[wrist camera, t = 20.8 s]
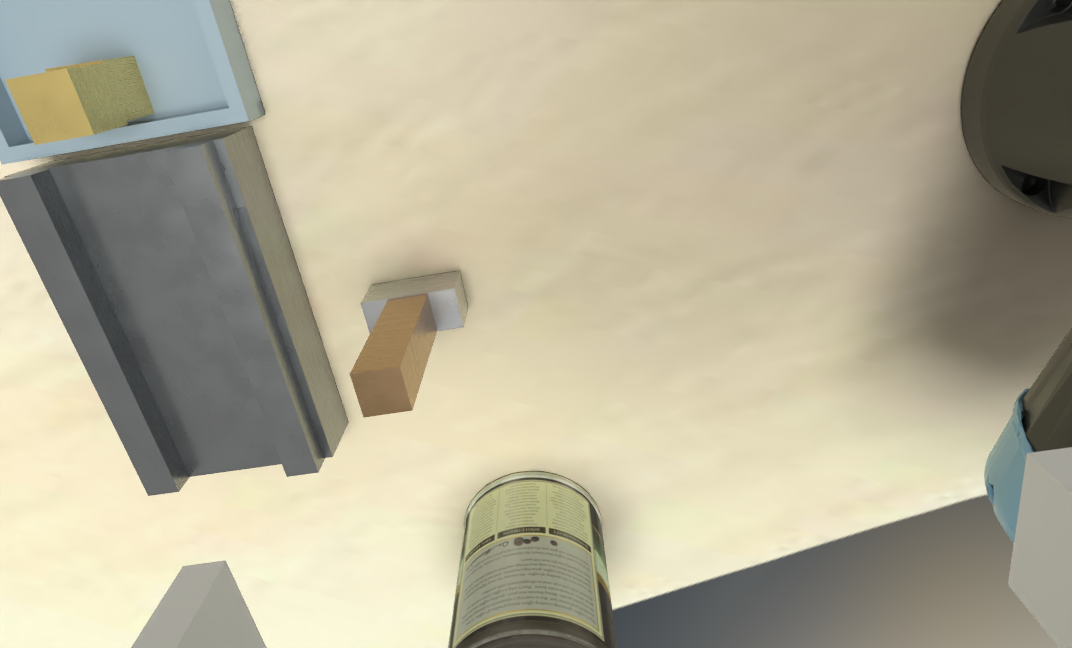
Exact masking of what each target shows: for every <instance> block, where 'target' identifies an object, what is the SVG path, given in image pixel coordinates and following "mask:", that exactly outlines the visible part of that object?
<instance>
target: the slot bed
mask: <svg viewBox="0 0 1072 648" xmlns="http://www.w3.org/2000/svg"><path fill="white" fill-rule="evenodd" d="M0 196H1V198H2V201H3V203H4V205H5V207H6V209H7V211H8V213H9V215H10V217H11V219H12V221H13V223H14V225H15V227H16V229H17V231H18V233H19V235H20V237H21V239H22V241H23V243H24V245H25V247H26V249H27V251H28V253H29V255H30V257H31V259H32V261H33V263H34V265H35V267H36V269H37V271H38V273H39V275H40V277H41V279H42V281H43V283H44V285H45V288H46V290H47V292H48V294H49V296H50V298H51V300H52V302H53V304H54V306H55V308H56V310H57V312H58V314H59V316H60V318H61V320H62V322H63V324H64V326H65V328H66V330H67V332H68V334H69V336H70V338H71V340H72V342H73V344H74V346H75V348H76V350H77V352H78V354H79V356H80V358H81V360H82V362H83V364H84V366H85V368H86V370H87V373H88V375H89V377H90V379H91V381H92V383H93V385H94V387H95V389H96V391H97V393H98V395H99V397H100V399H101V401H102V403H103V405H104V407H105V409H106V411H107V413H108V415H109V417H110V419H111V421H112V423H113V425H114V427H115V429H116V431H117V433H118V435H119V437H120V439H121V441H122V443H123V445H124V447H125V449H126V451H127V453H128V455H129V457H130V460H131V462H132V464H133V466H134V468H135V470H136V472H137V474H138V476H139V478H140V480H141V482H142V484H143V486H144V488H145V490H146V492H147V494H148V496H150V495H158V494H165V493H172V492H179V491H180V489H181V488H182V487H183V485H184V484H185V483H186V481H187V480H188V478H189V477H191V476H198V475H206V474H213V473H220V472H227V471H234V470H241V469H249V468H256V467H263V466H270V465H277V464H282V465H283V468H284V470H285V473H286V475H287V477H288V476H295V475H302V474H310V473H317V472H319V470H320V468H321V466H322V463H323V461H324V459H325V458H327V457H333V455H334V453H335V451H336V448H337V446H338V444H339V442H340V440H341V437H342V435H343V433H344V431H345V429H346V426H347V424H348V420H347V417H346V414H345V411H344V408H343V404H342V401H341V398H340V395H339V392H338V389H337V386H336V383H335V380H334V377H333V374H332V371H331V368H330V365H329V362H328V359H327V356H326V353H325V350H324V346H323V343H322V340H321V337H320V334H319V331H318V328H317V325H316V322H315V319H314V316H313V313H312V310H311V307H310V304H309V301H308V298H307V295H306V291H305V288H304V285H303V282H302V279H301V276H300V273H299V270H298V267H297V264H296V261H295V258H294V255H293V252H292V249H291V246H290V243H289V240H288V237H287V233H286V230H285V227H284V224H283V221H282V218H281V215H280V212H279V209H278V206H277V203H276V200H275V197H274V194H273V191H272V188H271V185H270V182H269V178H268V175H267V172H266V169H265V166H264V163H263V160H262V157H261V154H260V151H259V148H258V145H257V142H256V139H255V136H254V133H253V130H252V127H251V126H250V127H244V128H239V129H233V130H227V131H222V132H216V133H210V134H204V135H199V136H193V137H187V138H182V139H176V140H170V141H164V142H159V143H153V144H147V145H142V146H136V147H130V148H124V149H119V150H113V151H107V152H102V153H96V154H90V155H84V156H79V157H73V158H67V159H62V160H56V161H51V162H48V163H45V164H42V165H39V166H36V167H33V168H30V169H27V170H24V171H20V172H17V173H14V174H11V175H8V176H5V178H3V179H0Z"/></svg>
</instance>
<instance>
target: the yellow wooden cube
mask: <svg viewBox="0 0 1072 648" xmlns="http://www.w3.org/2000/svg"><path fill="white" fill-rule="evenodd" d="M102 63H104V66H105V68H106V71H107V73H108V76H109V78H110V81H111V83H112V86H113V88H114V91H115V93H116V96H117V98H118V101H119V103H120V106H121V108H122V111H123V113H124V116H125V118H126V121H130V120H134V119H137V118H141V117H144V116H148V115H151V114H155V112H154V109H153V107H152V104H151V101H150V98H149V95H148V93H147V90H146V87H145V84H144V82H143V79H142V76H141V73H140V70H139V68H138V65H137V62H136V59H135V56H129V57H121V58H113V59H106V60H99V61H92V62H86V63H80V64H73V65H67V66H61V67H54V68H48V69H45V70H46V72H50V71H55V70H60V69H66V68H73V67H80V66H88V65H95V64H102Z"/></svg>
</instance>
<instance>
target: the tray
mask: <svg viewBox="0 0 1072 648" xmlns="http://www.w3.org/2000/svg"><path fill="white" fill-rule="evenodd" d="M129 56H135V59H136V62H137V65H138V68H139V70H140V73H141V76H142V79H143V82H144V84H145V87H146V90H147V93H148V95H149V98H150V101H151V104H152V107H153V109H154V112H155V114H151V115H148V116H144V117H141V118H137V119H134V120H130V121H127V123H128V125H126V126H122V127H119V128H115V129H112V130H109V131H105V132H102V133H99V134H95V135H90V136H84V137H79V138H73V139H67V140H62V141H56V142H50V143H45V144H39V145H35V144H34V142H33V140H32V138H31V135H30V133H29V131H28V129H27V127H26V125H25V122H24V120H23V118H22V116H21V114H20V111H19V109H18V107H17V105H16V103H15V101H14V98H13V96H12V94H11V92H10V90H9V87H8V85H7V83H6V81H5V80H6V79H11V78H17V77H22V76H28V75H33V74H39V73H44V72H46V70H45V69H48V68H54V67H61V66H67V65H73V64H80V63H86V62H92V61H99V60H106V59H113V58H121V57H129ZM262 115H265V111H264V108H263V105H262V102H261V99H260V95H259V92H258V89H257V86H256V83H255V80H254V76H253V73H252V70H251V67H250V64H249V61H248V58H247V54H246V51H245V48H244V45H243V42H242V39H241V35H240V32H239V29H238V26H237V23H236V20H235V17H234V13H233V10H232V7H231V4H230V1H229V0H0V161H1V163H2V164H7V163H13V162H19V161H24V160H30V159H36V158H41V157H47V156H53V155H58V154H64V153H70V152H76V151H81V150H87V149H93V148H98V147H104V146H110V145H115V144H121V143H127V142H132V141H138V140H144V139H150V138H155V137H161V136H167V135H172V134H178V133H184V132H189V131H195V130H201V129H206V128H212V127H218V126H224V125H229V124H235V123H241V122H246V121H250V120H253V119H255V118H258V117H260V116H262Z"/></svg>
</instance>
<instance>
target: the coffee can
mask: <svg viewBox="0 0 1072 648" xmlns="http://www.w3.org/2000/svg"><path fill="white" fill-rule="evenodd" d="M448 648H617V644H616V637H615V629H614V621H613V613H612V605H611V598H610V590H609V582H608V574H607V566H606V558H605V551H604V542H603V535H602V519H601V515H600V512H599V509H598V507H597V505H596V503H595V502H594V500H593V499H592V497H591V496H590V495H589V494H588V493H587V492H586V491H585V490H584V489H583V488H582V487H580V486H579V485H577V484H576V483H574V482H573V481H571V480H569V479H567V478H564V477H561V476H559V475H555V474H551V473H546V472H537V471H534V472H520V473H515V474H511V475H508V476H505V477H502V478H500V479H497V480H495V481H494V482H492V483H490V484H488V485H487V486H485V487H484V488H483V489H482V490H481V491H480V492H479V493H478V494H477V495H476V496H475V498H474V499H473V500H472V502H471V503H470V505H469V507H468V509H467V512H466V515H465V519H464V536H463V543H462V550H461V557H460V565H459V572H458V579H457V586H456V593H455V601H454V609H453V616H452V623H451V631H450V638H449V645H448Z"/></svg>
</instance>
